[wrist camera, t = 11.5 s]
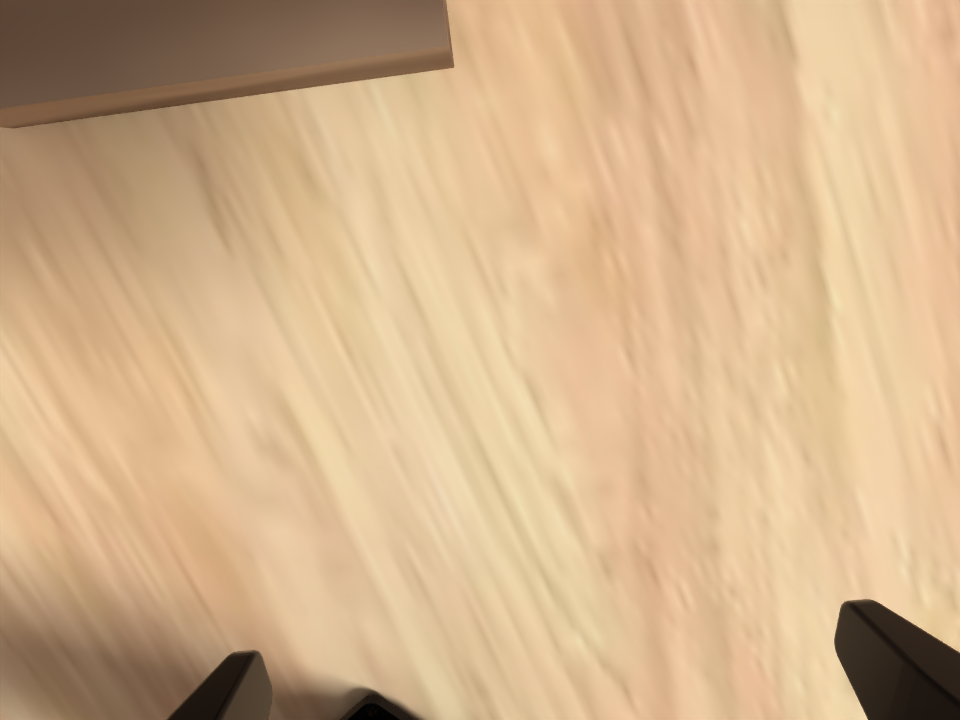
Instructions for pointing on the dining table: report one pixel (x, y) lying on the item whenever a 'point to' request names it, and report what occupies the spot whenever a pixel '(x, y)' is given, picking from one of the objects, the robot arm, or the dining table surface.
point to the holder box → (201, 51)
